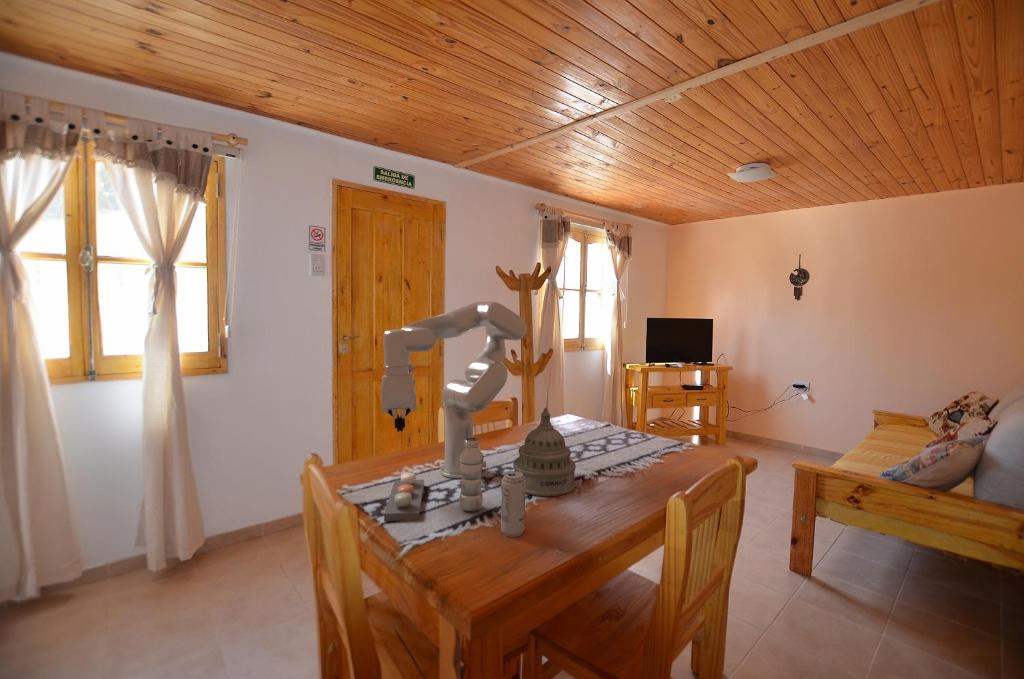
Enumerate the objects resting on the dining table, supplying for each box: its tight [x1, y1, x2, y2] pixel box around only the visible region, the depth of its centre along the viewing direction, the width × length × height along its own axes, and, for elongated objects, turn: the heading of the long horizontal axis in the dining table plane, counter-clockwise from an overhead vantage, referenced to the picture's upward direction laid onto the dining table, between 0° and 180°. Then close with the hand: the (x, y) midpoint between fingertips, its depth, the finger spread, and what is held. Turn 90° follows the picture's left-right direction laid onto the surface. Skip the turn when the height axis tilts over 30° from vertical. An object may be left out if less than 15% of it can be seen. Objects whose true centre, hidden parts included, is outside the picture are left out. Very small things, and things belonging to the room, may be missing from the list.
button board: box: [383, 479, 425, 522], centre depth 134 cm, size 9×23×2 cm, turn 7°
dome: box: [512, 407, 577, 497], centre depth 148 cm, size 20×25×20 cm
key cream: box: [400, 472, 417, 485], centre depth 141 cm, size 4×4×2 cm
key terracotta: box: [398, 485, 414, 496], centre depth 134 cm, size 4×4×2 cm
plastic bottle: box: [458, 437, 484, 512], centre depth 129 cm, size 6×7×20 cm
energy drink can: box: [500, 470, 526, 538], centre depth 117 cm, size 6×6×15 cm
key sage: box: [395, 493, 411, 506], centre depth 126 cm, size 4×4×2 cm
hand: (400, 430), depth 141 cm, fingers closed
